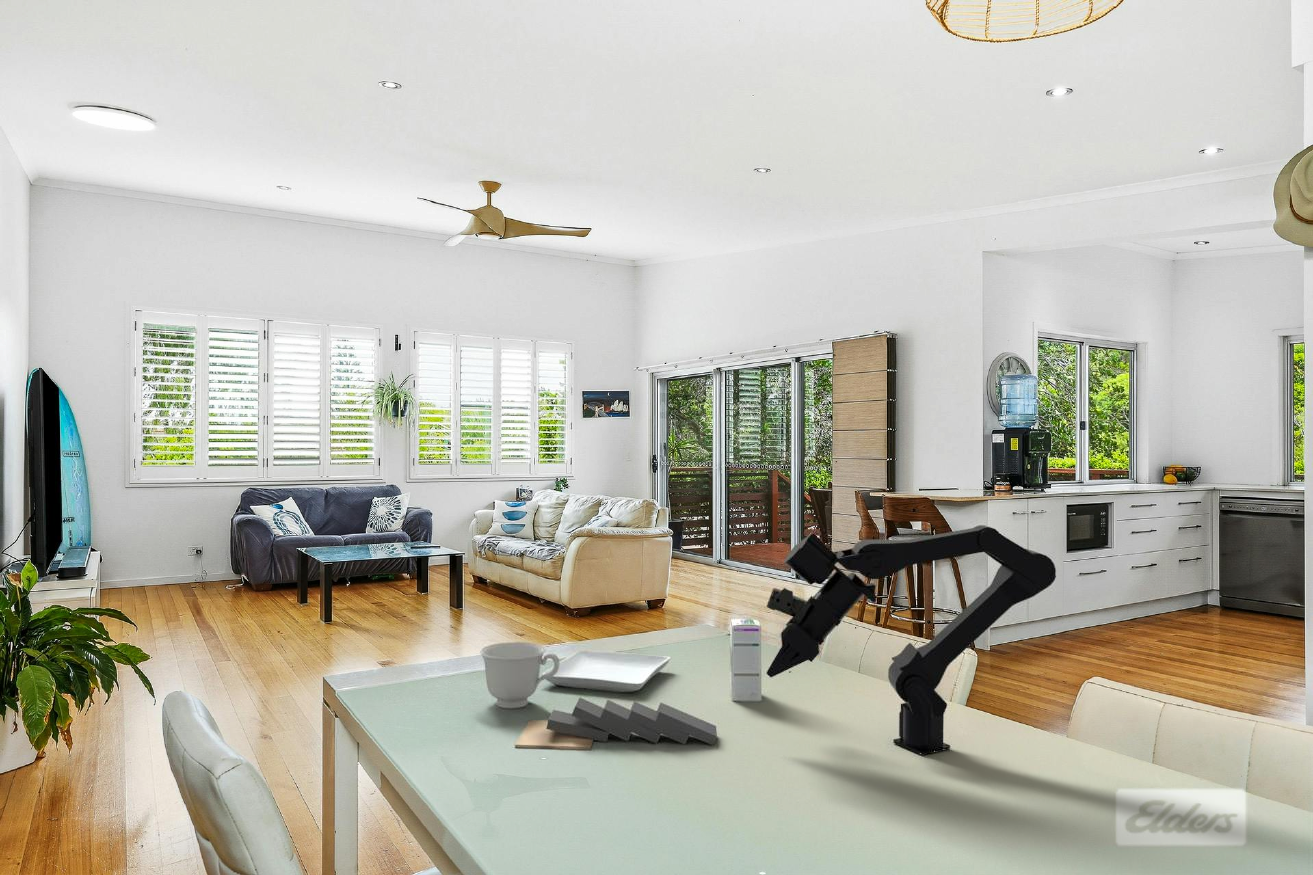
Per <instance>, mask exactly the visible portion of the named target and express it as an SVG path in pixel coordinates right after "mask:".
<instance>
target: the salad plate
mask: <svg viewBox="0 0 1313 875" xmlns="http://www.w3.org/2000/svg"><path fill="white" fill-rule="evenodd" d="M670 661H671V656H664V655H663V656H662V655H654V654H653V655H652V654H640V653H630V652H628V653H627V652H614V651H613V652H611V651H596V650H594V651H593V650H578V651H576V652H574V653H573V654H571V655H570V656H568V657H566V658H564V659H563V660H561V661H559V669H558V671H557V673H556V674H555V675H554V676H552V677H550V678H547V679H545V681H548V682H549V683H551V684H554V685H556V686H563V687H567V688H573V689H574V688H575V689H576V688H577V689H584V688H587V689H586V690H594V689H597V690H596V691H604V690H607V691H606V692H615V691H622V692H621V693H631V692H637V691H640V689H642V688H643V686H645V684H647V682H648V681H649V680H651V679H652V678H653V677H654V676H656V674H657V673H659V672H660V671H661V670H663V669H664V668H665V667H666V665H668V664H669V662H670ZM553 668H554V665H553V666H552V667H550V668H549V669H547V670H545V671H544V672H542V673H541V676H543V675H545V674H547V673H549V672H551V671H552V670H553Z"/></svg>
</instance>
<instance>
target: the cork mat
mask: <svg viewBox="0 0 1313 875" xmlns="http://www.w3.org/2000/svg"><path fill="white" fill-rule="evenodd" d="M547 724H548V720H540V719H539V720H537V719H536V720H535V719H533V720H532V719H530V720H529V721H528V723H527V724H526V726H525V727H524V730H523V731H522V732H521V734H520V736H519V738H518V740H516V742H515V745H514V748H525V749H531V748H532V749H562V750H563V749H564V750H588V749H590V750H591V748H592V746H593V744H592V743H594V741H595V740H594V739H589V738H585V737H580V736H576V735H571V734H566V733H562V732H557V731H553V730H548V729H546V728H547ZM593 740H594V741H593Z"/></svg>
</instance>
